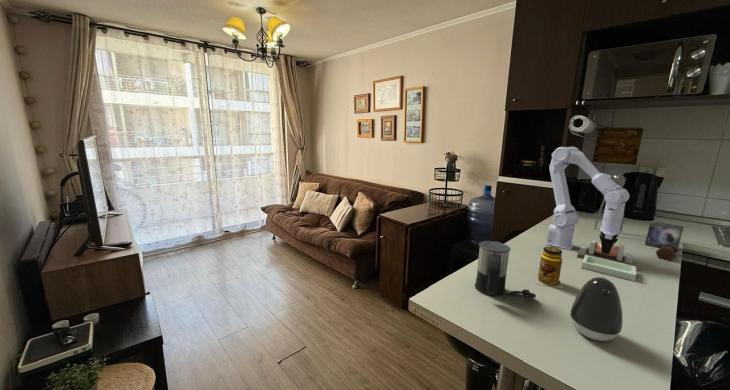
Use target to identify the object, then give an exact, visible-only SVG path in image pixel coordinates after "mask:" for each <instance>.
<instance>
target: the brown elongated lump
mask: <svg viewBox="0 0 730 390" xmlns="http://www.w3.org/2000/svg"><path fill="white" fill-rule="evenodd" d="M678 252H679V248H678V249H677V247H676V246H675V245H673V244H665V245H664V246H663V247H661V248H658V249H657V250H656V251H655V254H656V256H657V258H658V259H659V260H662V259H663V261H666V260H667V262H670V261H672V260H674V258H676V257H677V255H676V253H678Z"/></svg>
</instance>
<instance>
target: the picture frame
mask: <svg viewBox="0 0 730 390" xmlns="http://www.w3.org/2000/svg"><path fill="white" fill-rule="evenodd" d="M683 231H684V226H683V225H676V224H673V223H672V224H670V223H665V222H660V221H655V220H652V221H650V223H649V226H648V230H647V235H646V237H645V243H644V245H645V246H648V247H653V248H658V249H660V248H661V247H663V246H664V245H665V244H673V245H675V246H676V247H677V249H678V250H679V245H680V242H681V240H682V239H681V238H682V235H683Z"/></svg>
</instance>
